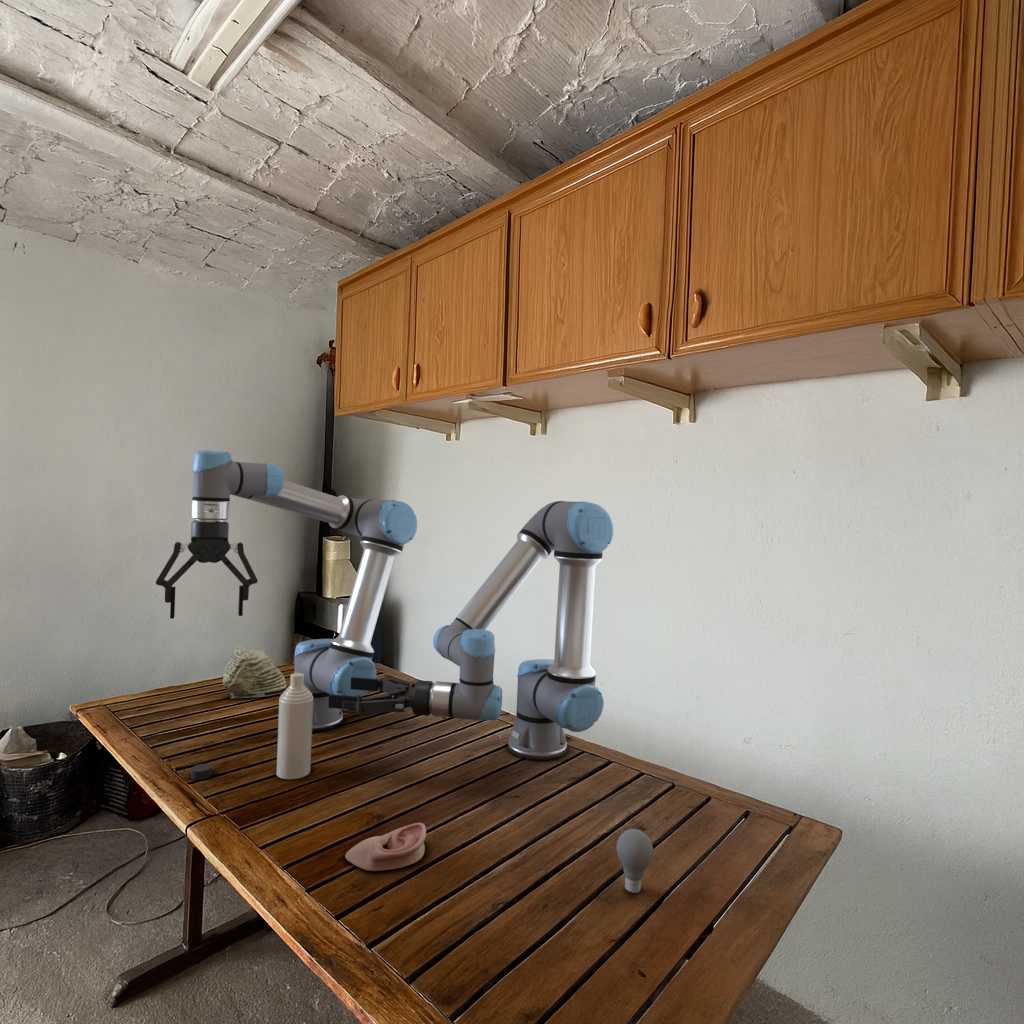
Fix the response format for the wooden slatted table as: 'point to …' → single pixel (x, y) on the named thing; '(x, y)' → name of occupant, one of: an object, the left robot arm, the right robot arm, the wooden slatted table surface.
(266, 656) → the fossil
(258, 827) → the wooden slatted table surface
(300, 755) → the bottle
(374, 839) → the anatomical model
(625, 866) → the light bulb
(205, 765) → the cap
